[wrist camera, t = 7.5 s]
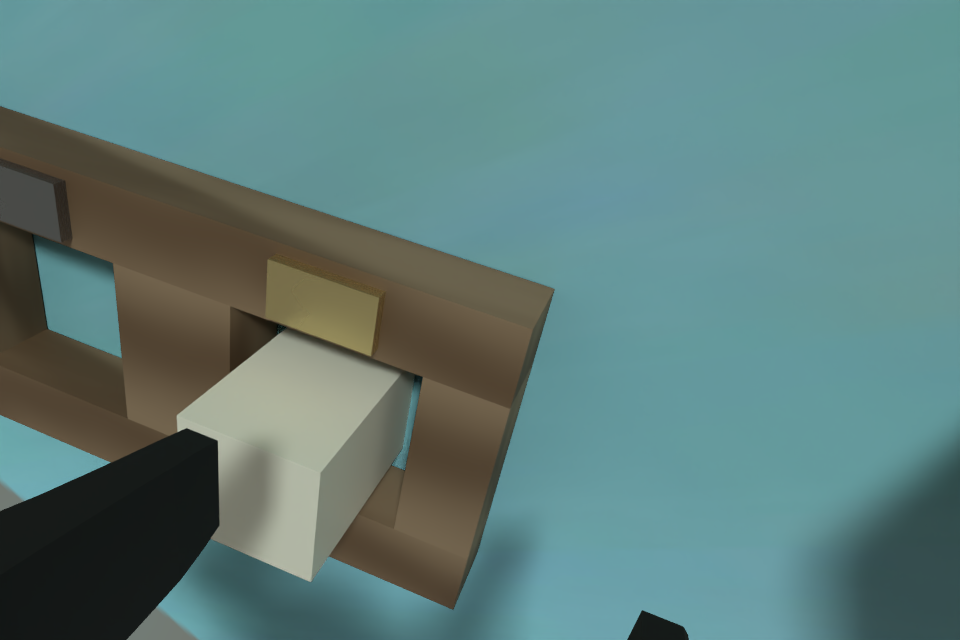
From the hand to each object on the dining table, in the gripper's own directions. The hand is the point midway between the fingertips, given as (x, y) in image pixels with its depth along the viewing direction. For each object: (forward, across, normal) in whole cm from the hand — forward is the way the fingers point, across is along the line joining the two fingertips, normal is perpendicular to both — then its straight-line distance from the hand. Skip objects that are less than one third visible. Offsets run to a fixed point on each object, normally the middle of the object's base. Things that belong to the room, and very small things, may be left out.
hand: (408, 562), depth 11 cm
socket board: (+10, +10, +5) cm, 15 cm away
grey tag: (+7, +15, 0) cm, 17 cm away
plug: (+10, +5, +5) cm, 12 cm away
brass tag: (+7, +5, 0) cm, 9 cm away
